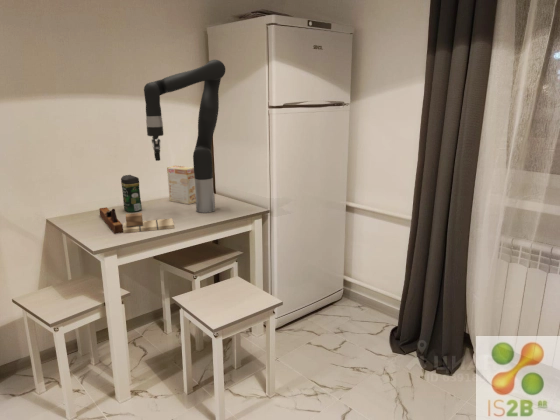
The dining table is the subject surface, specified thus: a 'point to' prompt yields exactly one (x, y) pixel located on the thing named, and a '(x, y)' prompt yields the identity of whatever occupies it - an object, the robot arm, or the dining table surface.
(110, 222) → the hand plane
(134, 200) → the coffee jar
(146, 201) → the dining table surface
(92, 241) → the dining table surface
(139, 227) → the board
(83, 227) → the dining table surface
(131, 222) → the block
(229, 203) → the dining table surface
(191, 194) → the coffeecake box
